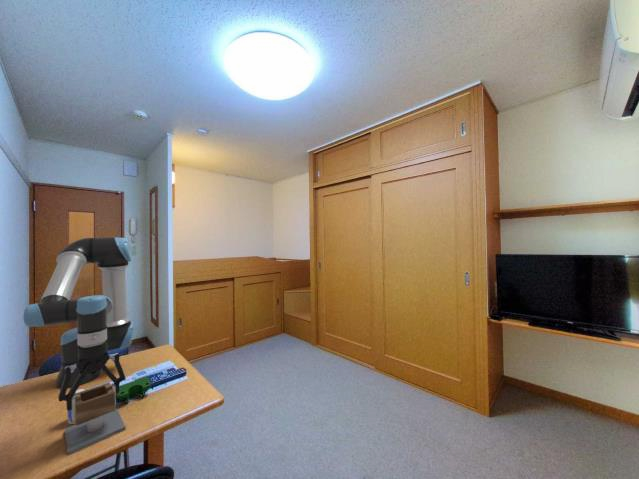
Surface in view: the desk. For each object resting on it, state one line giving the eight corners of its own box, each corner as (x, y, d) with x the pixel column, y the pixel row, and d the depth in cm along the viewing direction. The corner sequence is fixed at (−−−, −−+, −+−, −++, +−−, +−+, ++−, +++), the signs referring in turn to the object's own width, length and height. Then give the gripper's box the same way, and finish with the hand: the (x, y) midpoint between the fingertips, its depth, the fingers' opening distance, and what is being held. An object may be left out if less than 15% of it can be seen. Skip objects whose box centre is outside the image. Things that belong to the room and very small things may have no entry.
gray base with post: (64, 431, 88) (64, 407, 88) (117, 411, 98) (116, 389, 98) (67, 455, 78) (67, 428, 78) (125, 429, 89) (124, 405, 89)
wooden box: (73, 412, 88) (73, 394, 88) (109, 399, 95) (109, 382, 95) (76, 425, 81) (76, 406, 81) (115, 410, 88) (114, 392, 88)
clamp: (123, 414, 103) (113, 400, 99) (120, 405, 107) (109, 390, 103) (156, 391, 110) (147, 377, 106) (152, 383, 114) (143, 369, 110)
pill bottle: (71, 426, 90) (70, 398, 90) (65, 421, 93) (64, 393, 93) (91, 417, 95) (90, 390, 95) (85, 412, 98) (84, 386, 98)
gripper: (45, 357, 77) (46, 434, 77) (135, 336, 94) (137, 400, 94) (44, 350, 83) (46, 422, 83) (130, 331, 99) (131, 391, 99)
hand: (94, 410), depth 88 cm, fingers closed on wooden box, 9 cm apart
